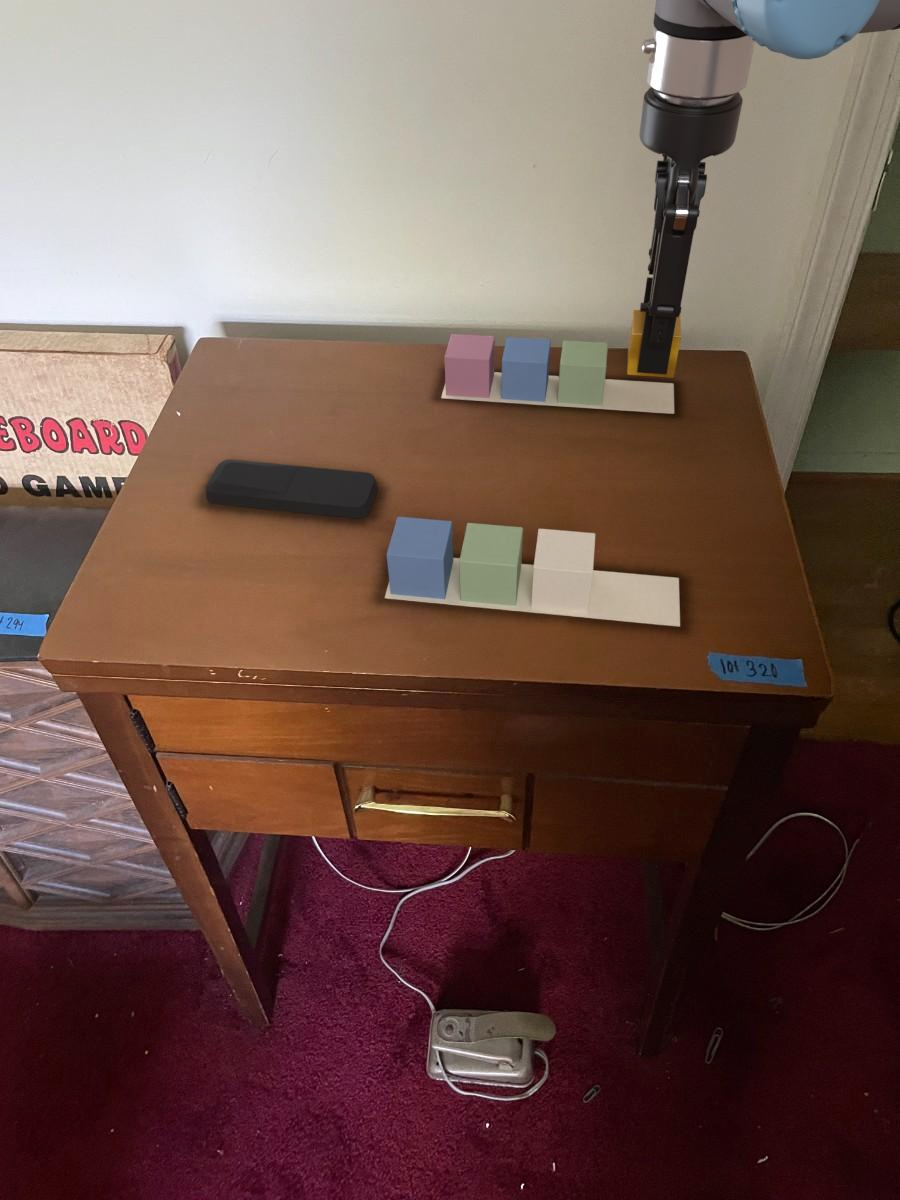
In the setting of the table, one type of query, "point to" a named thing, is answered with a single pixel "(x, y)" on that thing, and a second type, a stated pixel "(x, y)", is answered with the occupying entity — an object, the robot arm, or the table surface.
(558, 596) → the white strip with cubes
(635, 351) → the block
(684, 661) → the table surface
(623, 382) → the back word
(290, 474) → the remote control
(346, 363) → the table surface
